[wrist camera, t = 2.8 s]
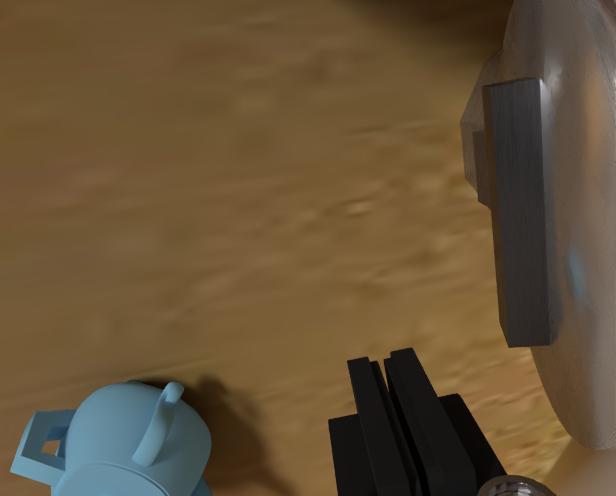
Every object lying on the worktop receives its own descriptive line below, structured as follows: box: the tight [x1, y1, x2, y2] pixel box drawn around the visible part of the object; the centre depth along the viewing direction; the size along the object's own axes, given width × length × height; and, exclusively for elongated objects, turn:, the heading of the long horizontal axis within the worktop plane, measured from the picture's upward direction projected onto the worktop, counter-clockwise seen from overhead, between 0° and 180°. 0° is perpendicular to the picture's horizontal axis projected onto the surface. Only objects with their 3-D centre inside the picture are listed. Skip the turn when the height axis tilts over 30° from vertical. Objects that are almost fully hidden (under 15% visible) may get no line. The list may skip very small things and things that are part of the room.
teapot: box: [10, 380, 213, 496], centre depth 41 cm, size 20×17×12 cm
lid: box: [481, 0, 616, 449], centre depth 21 cm, size 19×19×3 cm
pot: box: [460, 0, 616, 210], centre depth 34 cm, size 26×20×10 cm
